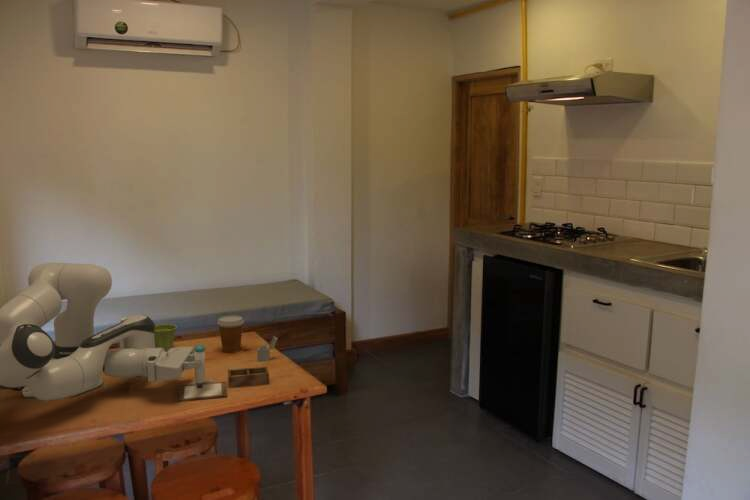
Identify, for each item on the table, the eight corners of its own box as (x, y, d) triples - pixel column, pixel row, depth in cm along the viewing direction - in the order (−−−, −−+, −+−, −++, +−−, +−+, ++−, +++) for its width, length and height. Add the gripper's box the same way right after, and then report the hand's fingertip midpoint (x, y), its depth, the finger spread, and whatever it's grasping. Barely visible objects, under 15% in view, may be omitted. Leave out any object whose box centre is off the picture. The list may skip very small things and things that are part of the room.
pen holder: (228, 387, 199) (228, 376, 198) (228, 380, 205) (227, 369, 204) (269, 384, 202) (268, 373, 201) (267, 376, 208) (266, 366, 208)
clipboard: (178, 401, 188) (178, 396, 187) (180, 387, 199) (179, 382, 199) (227, 397, 191) (226, 392, 191) (225, 383, 203) (225, 378, 202)
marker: (194, 389, 196) (194, 349, 192) (194, 384, 198) (194, 344, 195) (204, 388, 196) (204, 348, 193) (204, 383, 199) (204, 344, 195)
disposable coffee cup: (224, 345, 241) (222, 314, 239) (248, 346, 239) (247, 315, 237) (214, 353, 231) (213, 321, 229) (239, 354, 230) (238, 322, 228)
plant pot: (167, 344, 242) (166, 322, 240) (183, 349, 236) (181, 326, 235) (145, 351, 234) (144, 328, 233) (161, 355, 229) (160, 332, 227)
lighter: (258, 361, 223) (257, 339, 221) (257, 360, 224) (256, 338, 223) (278, 358, 226) (277, 337, 224) (277, 357, 227) (276, 335, 226)
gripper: (166, 360, 205) (209, 360, 206) (147, 384, 185) (195, 383, 186) (165, 342, 204) (208, 341, 205) (146, 363, 184) (194, 362, 185)
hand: (202, 361), depth 195 cm, fingers closed on marker, 3 cm apart
